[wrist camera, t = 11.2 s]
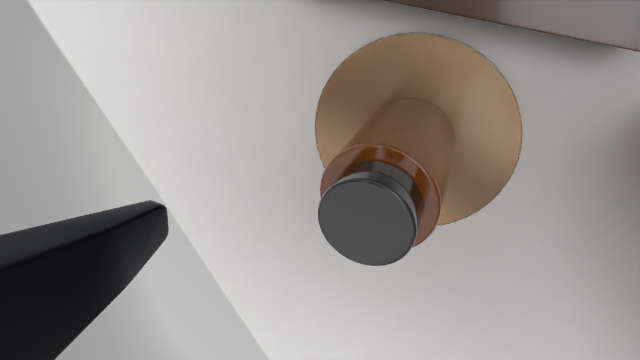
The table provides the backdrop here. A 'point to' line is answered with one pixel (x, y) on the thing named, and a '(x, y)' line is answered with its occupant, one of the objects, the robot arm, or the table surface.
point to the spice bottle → (388, 183)
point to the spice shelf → (554, 17)
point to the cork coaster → (442, 91)
